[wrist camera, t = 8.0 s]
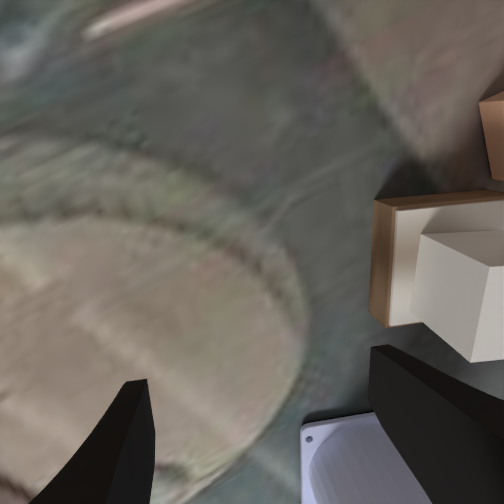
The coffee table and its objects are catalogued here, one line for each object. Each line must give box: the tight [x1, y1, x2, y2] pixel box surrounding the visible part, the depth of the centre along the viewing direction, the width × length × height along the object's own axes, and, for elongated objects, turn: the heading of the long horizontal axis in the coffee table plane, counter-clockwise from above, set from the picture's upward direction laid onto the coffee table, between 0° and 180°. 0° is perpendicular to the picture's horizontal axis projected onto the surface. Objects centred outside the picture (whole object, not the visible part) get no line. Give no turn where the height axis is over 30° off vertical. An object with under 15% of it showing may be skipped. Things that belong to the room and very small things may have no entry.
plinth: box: [369, 189, 504, 328], centre depth 23 cm, size 7×7×2 cm
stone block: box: [410, 230, 504, 363], centre depth 19 cm, size 4×4×5 cm
